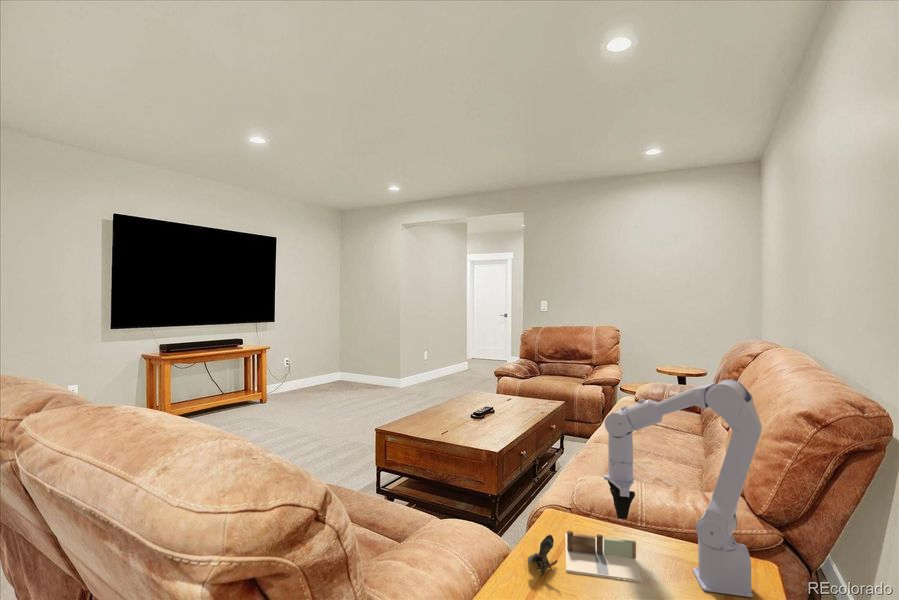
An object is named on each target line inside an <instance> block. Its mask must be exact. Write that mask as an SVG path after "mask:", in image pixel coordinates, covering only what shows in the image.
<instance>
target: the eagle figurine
mask: <svg viewBox="0 0 899 600" xmlns="http://www.w3.org/2000/svg"><path fill="white" fill-rule="evenodd" d="M554 540H555V539H554V537H553V535H552V534H548V535H546V536H545V537H544V539H542V541H541V542H540V545H539V551H538V553H537V552H535V553H533V554H531V555H530V556H528V557H527V563H528V564H530V563H533V562H535V563H536V565H537V566H538V567H536V570H537V571H538V570H539V571H540V576H539V577H540V579H542V578H543V576H544V575H545V574H546V572H547V570H548V569H550V570H552V571H553V566H555V565H556V564H557V562H558V559H556V560H554V561H552V562H551V563H550V561H549V558H548V556H547V555H548V554H549V553H550V552H551V550H552V549H553V547H554Z"/></svg>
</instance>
